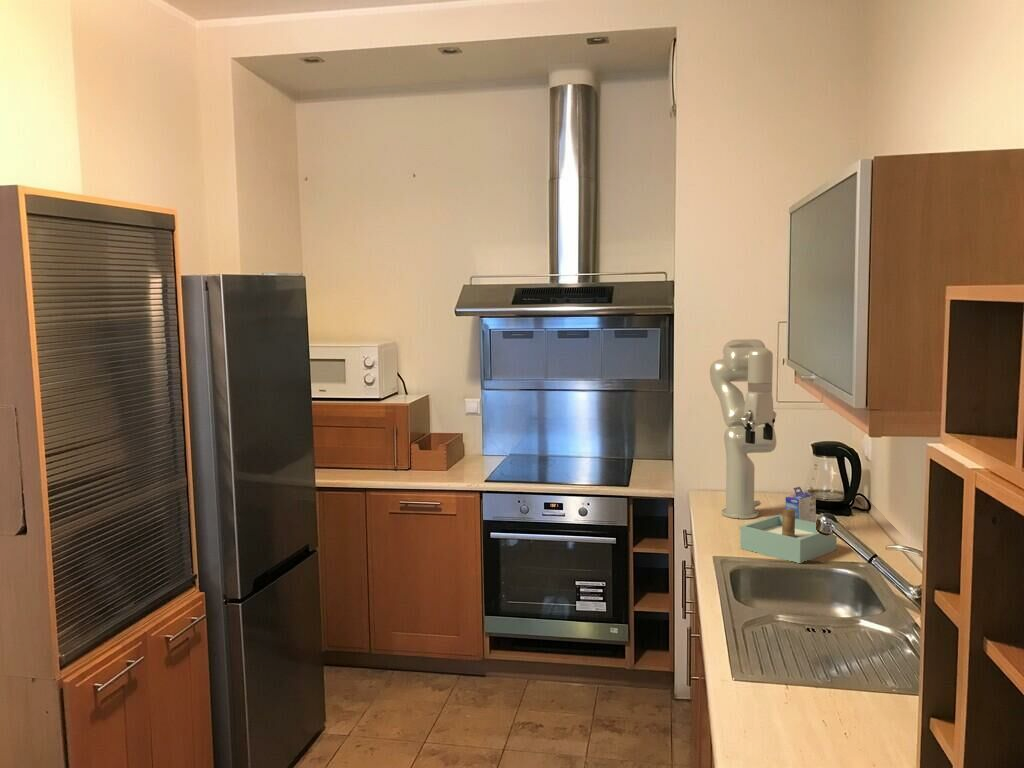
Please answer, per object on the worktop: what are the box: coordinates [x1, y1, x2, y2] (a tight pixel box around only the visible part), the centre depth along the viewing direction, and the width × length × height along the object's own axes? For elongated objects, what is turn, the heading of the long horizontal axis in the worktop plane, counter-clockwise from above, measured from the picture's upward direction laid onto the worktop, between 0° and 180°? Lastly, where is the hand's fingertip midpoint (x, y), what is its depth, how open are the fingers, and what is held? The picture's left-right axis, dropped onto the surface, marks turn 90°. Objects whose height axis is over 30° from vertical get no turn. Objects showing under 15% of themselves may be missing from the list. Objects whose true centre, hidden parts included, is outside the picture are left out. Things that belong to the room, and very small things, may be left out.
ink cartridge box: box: [785, 486, 817, 523], centre depth 269 cm, size 10×6×14 cm, turn 129°
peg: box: [781, 508, 795, 538], centre depth 250 cm, size 4×4×12 cm
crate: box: [739, 514, 838, 564], centre depth 250 cm, size 20×20×7 cm
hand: (759, 441), depth 265 cm, fingers open, 9 cm apart
